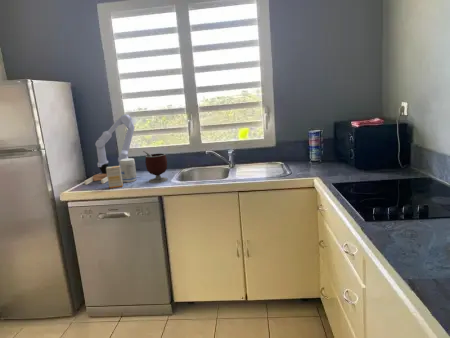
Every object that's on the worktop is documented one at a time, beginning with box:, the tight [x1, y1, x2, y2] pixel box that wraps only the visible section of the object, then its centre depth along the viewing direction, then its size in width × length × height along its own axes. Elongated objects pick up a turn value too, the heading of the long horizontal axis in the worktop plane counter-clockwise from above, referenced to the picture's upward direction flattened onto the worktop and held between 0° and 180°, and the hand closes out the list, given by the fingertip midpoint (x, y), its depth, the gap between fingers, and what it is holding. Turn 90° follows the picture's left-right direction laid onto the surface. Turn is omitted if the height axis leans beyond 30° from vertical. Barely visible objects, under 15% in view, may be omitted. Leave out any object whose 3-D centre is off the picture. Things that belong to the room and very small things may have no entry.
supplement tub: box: [120, 157, 138, 183], centre depth 239 cm, size 10×10×15 cm
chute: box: [84, 176, 108, 185], centre depth 246 cm, size 16×13×2 cm
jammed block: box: [92, 173, 107, 182], centre depth 250 cm, size 5×9×4 cm, turn 87°
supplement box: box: [106, 165, 124, 189], centre depth 225 cm, size 8×5×13 cm, turn 98°
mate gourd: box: [142, 150, 169, 184], centre depth 233 cm, size 16×14×20 cm
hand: (104, 174), depth 256 cm, fingers closed
